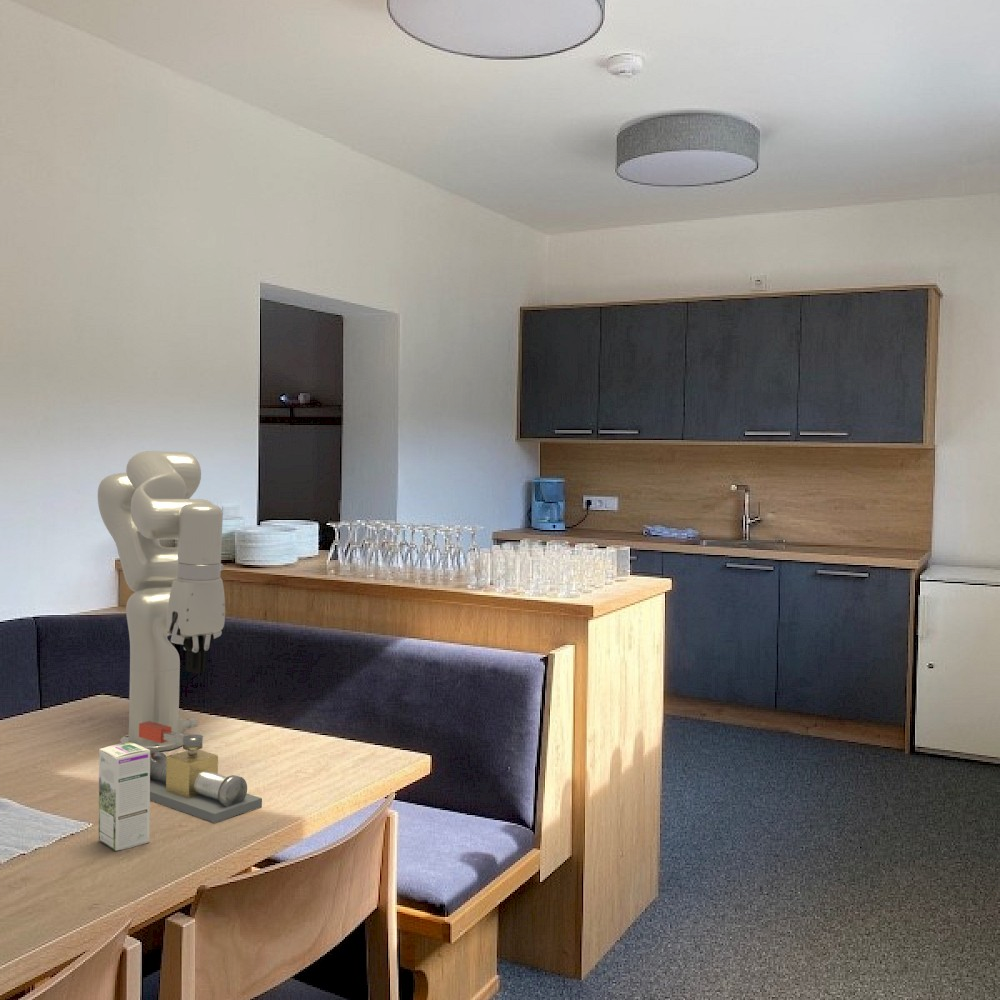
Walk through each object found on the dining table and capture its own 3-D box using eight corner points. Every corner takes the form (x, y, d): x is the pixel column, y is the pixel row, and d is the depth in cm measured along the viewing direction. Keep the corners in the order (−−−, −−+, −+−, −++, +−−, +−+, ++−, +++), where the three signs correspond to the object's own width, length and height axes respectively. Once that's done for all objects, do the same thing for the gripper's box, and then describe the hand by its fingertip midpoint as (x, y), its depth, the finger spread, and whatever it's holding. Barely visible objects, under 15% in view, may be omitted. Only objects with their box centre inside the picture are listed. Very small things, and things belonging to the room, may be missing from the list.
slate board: (171, 777, 188) (171, 769, 188) (261, 806, 175) (261, 798, 174) (123, 790, 180) (123, 782, 180) (214, 823, 166) (214, 813, 166)
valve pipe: (165, 776, 186) (166, 740, 186) (248, 803, 173) (249, 764, 173) (136, 784, 181) (137, 747, 181) (220, 812, 168) (221, 772, 168)
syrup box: (151, 842, 157) (153, 748, 157) (114, 852, 153) (115, 755, 152) (132, 832, 161) (134, 740, 161) (96, 841, 157) (97, 747, 156)
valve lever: (136, 742, 183) (136, 724, 183) (151, 738, 185) (151, 720, 185) (191, 758, 175) (191, 739, 175) (206, 754, 177) (206, 735, 177)
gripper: (217, 566, 195) (213, 661, 196) (151, 573, 183) (147, 675, 184) (244, 571, 191) (240, 668, 192) (179, 578, 178) (175, 683, 180)
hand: (195, 671), depth 188 cm, fingers closed
